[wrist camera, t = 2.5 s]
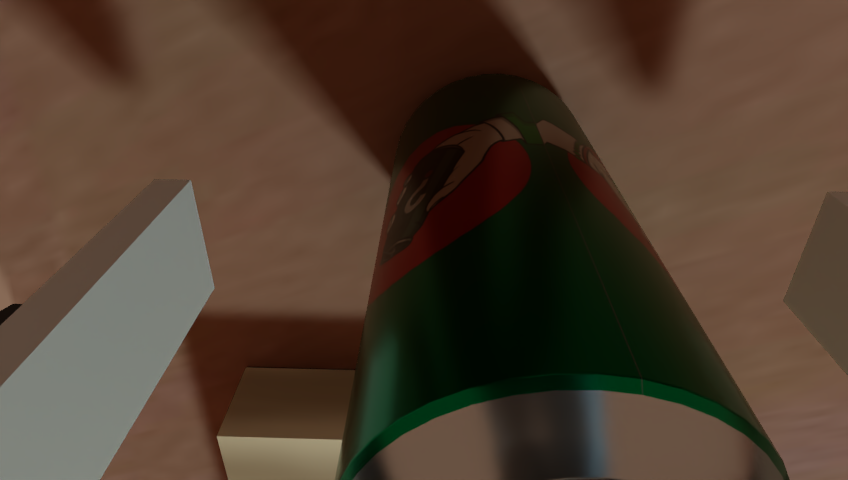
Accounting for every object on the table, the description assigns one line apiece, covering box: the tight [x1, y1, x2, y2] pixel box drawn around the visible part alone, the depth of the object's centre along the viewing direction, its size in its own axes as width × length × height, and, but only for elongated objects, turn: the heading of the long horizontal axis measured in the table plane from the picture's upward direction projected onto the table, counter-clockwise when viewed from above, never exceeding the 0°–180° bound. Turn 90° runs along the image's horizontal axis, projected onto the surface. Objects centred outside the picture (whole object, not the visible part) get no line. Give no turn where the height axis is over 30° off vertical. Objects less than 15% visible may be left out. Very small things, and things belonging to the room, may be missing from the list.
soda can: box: [335, 74, 790, 480], centre depth 11 cm, size 5×5×12 cm
